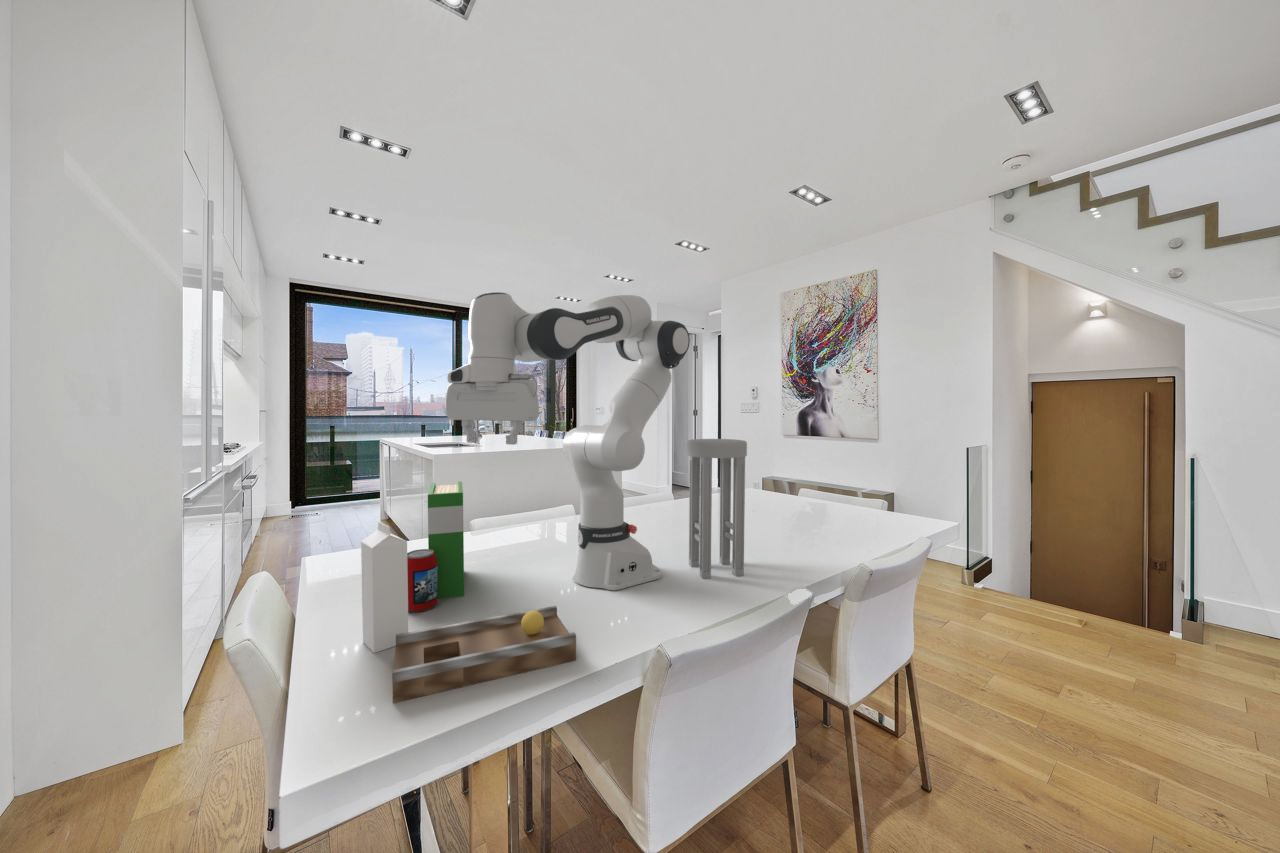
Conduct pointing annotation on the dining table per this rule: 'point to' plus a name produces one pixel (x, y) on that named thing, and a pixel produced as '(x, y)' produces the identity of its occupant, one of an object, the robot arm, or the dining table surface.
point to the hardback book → (447, 537)
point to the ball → (532, 622)
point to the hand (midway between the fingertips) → (491, 443)
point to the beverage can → (422, 580)
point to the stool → (703, 502)
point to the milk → (384, 588)
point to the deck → (476, 653)
